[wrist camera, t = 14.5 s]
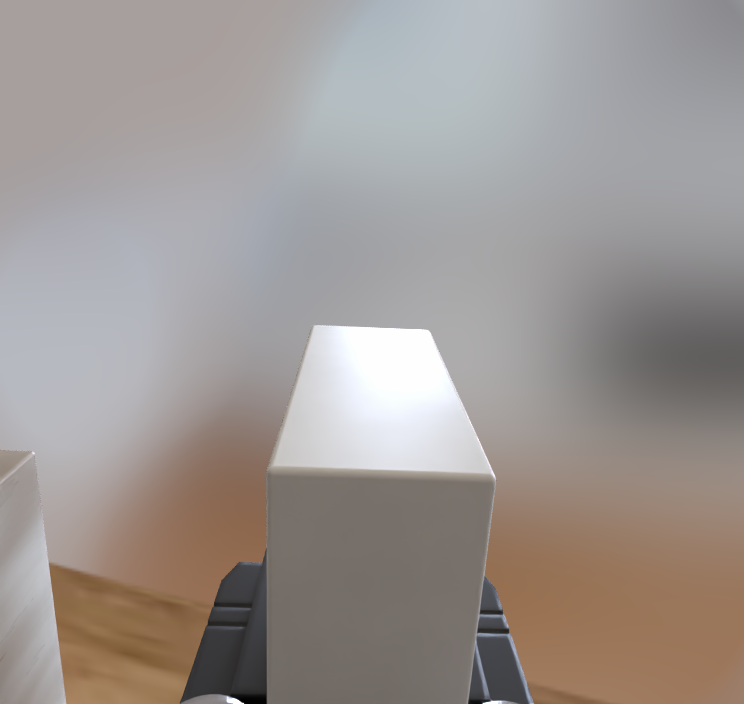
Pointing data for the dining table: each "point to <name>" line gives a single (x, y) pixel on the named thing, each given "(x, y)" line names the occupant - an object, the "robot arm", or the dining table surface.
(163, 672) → the dining table surface
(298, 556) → the white book
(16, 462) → the book rack
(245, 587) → the robot arm
